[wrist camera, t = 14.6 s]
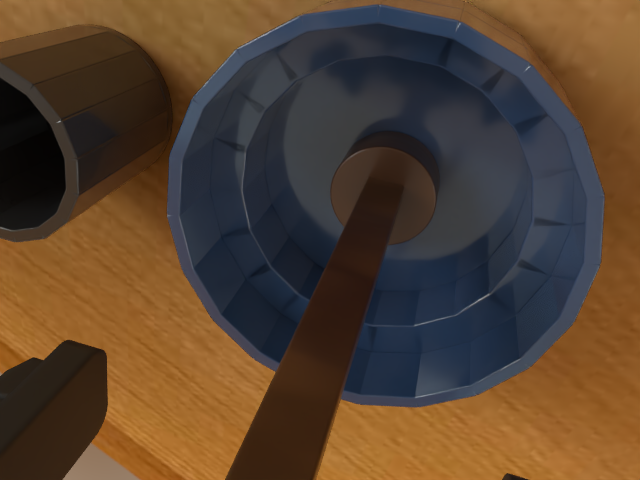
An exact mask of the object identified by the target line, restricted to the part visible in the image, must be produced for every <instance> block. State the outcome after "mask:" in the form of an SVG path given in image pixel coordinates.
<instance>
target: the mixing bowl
mask: <svg viewBox="0 0 640 480" xmlns="http://www.w3.org/2000/svg"><path fill="white" fill-rule="evenodd" d="M384 131H392V132H399V133H403V134H406V135H409V136H411V137H413V138H415V139H416V140H418V141H420V142H421V143H422V144H423V145H424V146H425V147H426V148H427V149H428V150H429V151H430V153H431V154H432V155H433V157H434V159H435V161H436V163H437V166H438V170H439V175H440V185H439V191H438V197H437V203H436V208H435V212H434V214H433V217H432V219H431V221H430V223H429V224H428V225H427V227H426V228H425V229H424V230H423V231H422V232H421V233H420V234H418V235H417V236H416V237H414V238H412V239H410V240H408V241H406V242H403V243H400V244H395V245H388V246H387V250H386V253H385V256H384V260H383V263H382V266H381V269H380V273H379V276H378V279H377V282H376V286H375V289H374V292H373V296H372V299H371V302H370V305H369V309H368V312H367V315H366V318H365V322H364V325H363V328H362V331H361V335H360V338H359V341H358V345H357V348H356V351H355V354H354V358H353V361H352V364H351V367H350V371H349V374H348V377H347V380H346V384H345V387H344V390H343V394H342V397H341V399H342V400H345V401H349V402H352V403H355V404H360V405H377V406H396V407H416V408H417V407H423V406H428V405H433V404H438V403H443V402H448V401H453V400H458V399H462V398H467V397H472V396H476V395H479V394H481V393H482V392H484V391H486V390H488V389H490V388H492V387H494V386H496V385H498V384H500V383H502V382H504V381H505V380H507V379H509V378H511V377H513V376H515V375H517V374H519V373H521V372H523V371H525V370H527V369H528V368H529V367H531V366H532V365H533V364H534V363H535V362H536V361H537V360H538V359H539V358H540V357H541V356H542V355H543V354H544V353H545V352H546V351H547V350H548V349H549V348H550V347H551V346H552V345H553V344H554V343H555V342H556V341H557V340H558V339H559V338H560V337H561V336H562V335H563V334H564V333H565V332H566V331H567V330H568V329H569V328H570V327H571V326H572V325H573V323H574V322H575V320H576V318H577V315H578V313H579V311H580V309H581V307H582V305H583V302H584V300H585V298H586V296H587V294H588V292H589V289H590V287H591V285H592V283H593V281H594V279H595V276H596V274H597V272H598V270H599V268H600V264H601V258H602V241H603V224H604V208H605V196H604V195H605V194H604V190H603V187H602V184H601V181H600V178H599V175H598V172H597V169H596V166H595V163H594V160H593V157H592V154H591V151H590V148H589V145H588V142H587V139H586V136H585V133H584V130H583V127H582V125H581V123H580V121H579V119H578V117H577V115H576V113H575V111H574V109H573V107H572V105H571V104H570V101H569V100H568V98H567V96H566V94H565V92H564V90H563V88H562V86H561V84H560V82H559V81H558V80H557V78H556V77H555V76H554V75H553V74H552V72H551V71H550V70H549V69H548V67H547V66H546V65H545V64H544V62H543V61H542V60H541V59H540V57H539V56H538V55H537V54H536V52H535V51H534V50H533V49H532V48H531V46H530V45H529V44H528V43H527V41H526V40H525V39H524V38H523V36H522V35H520V34H519V33H518V32H516V31H514V30H513V29H511V28H509V27H508V26H506V25H504V24H503V23H501V22H499V21H498V20H496V19H494V18H493V17H491V16H489V15H488V14H486V13H484V12H483V11H481V10H479V9H478V8H476V7H474V6H473V5H471V4H469V3H468V2H465V1H463V0H333V1H330V2H328V3H326V4H324V5H321V6H319V7H317V8H315V9H312V10H310V11H308V12H306V13H303V14H301V15H299V16H297V17H295V18H293V19H291V20H289V21H287V22H285V23H284V24H282V25H280V26H278V27H276V28H274V29H272V30H270V31H268V32H266V33H264V34H263V35H261V36H259V37H257V38H255V39H253V40H251V41H249V42H247V43H245V44H244V45H242V46H240V47H238V48H237V49H235V50H234V52H233V53H232V54H231V55H230V56H229V57H228V58H227V59H226V61H225V62H224V63H223V64H222V65H221V66H220V67H219V68H218V69H217V71H216V72H215V73H214V74H213V75H212V76H211V77H210V78H209V79H208V81H207V82H206V83H205V84H204V85H203V86H202V87H201V88H200V89H199V91H198V92H197V93H196V94H195V95H194V96H193V98H192V99H191V102H190V104H189V107H188V109H187V112H186V114H185V117H184V119H183V122H182V125H181V127H180V130H179V132H178V135H177V137H176V140H175V142H174V145H173V147H172V150H171V152H170V157H169V174H168V199H167V214H168V215H167V217H168V221H169V225H170V228H171V232H172V236H173V239H174V243H175V246H176V250H177V254H178V257H179V261H180V265H181V268H182V270H183V273H184V274H185V276H186V278H187V279H188V281H189V282H190V284H191V286H192V287H193V289H194V291H195V292H196V294H197V296H198V297H199V299H200V300H201V302H202V304H203V305H204V307H205V309H206V310H207V312H208V314H209V315H210V317H211V318H212V319H213V321H214V322H215V323H216V324H217V325H218V326H219V327H220V328H222V329H223V330H224V331H225V332H226V333H227V334H228V335H229V336H230V337H231V338H232V339H233V340H234V341H235V342H236V343H237V344H238V345H239V346H240V347H241V348H242V349H243V350H244V351H245V352H246V353H248V354H249V355H250V356H251V357H252V358H254V360H256V361H258V362H259V363H261V364H263V365H265V366H266V367H268V368H270V369H271V370H273V371H275V372H276V371H277V369H278V366H279V364H280V362H281V360H282V358H283V356H284V354H285V352H286V350H287V347H288V345H289V343H290V341H291V339H292V337H293V335H294V333H295V331H296V328H297V326H298V324H299V322H300V320H301V318H302V316H303V314H304V311H305V309H306V307H307V305H308V303H309V301H310V299H311V297H312V295H313V292H314V290H315V288H316V286H317V284H318V282H319V280H320V278H321V276H322V273H323V271H324V269H325V267H326V265H327V263H328V261H329V259H330V257H331V254H332V252H333V250H334V248H335V246H336V244H337V242H338V240H339V238H340V235H341V233H342V231H343V229H344V226H343V225H342V224H341V223H340V221H339V220H338V218H337V217H336V215H335V212H334V210H333V207H332V204H331V198H330V188H331V182H332V179H333V176H334V174H335V172H336V170H337V168H338V167H339V165H340V164H341V162H342V160H343V159H344V157H345V156H346V154H347V152H348V151H349V150H350V148H351V147H352V146H353V145H354V144H355V143H356V142H357V141H359V140H360V139H362V138H364V137H366V136H368V135H370V134H373V133H377V132H384Z"/></svg>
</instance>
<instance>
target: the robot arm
mask: <svg viewBox="0 0 640 480" xmlns="http://www.w3.org/2000/svg"><path fill="white" fill-rule="evenodd" d="M107 406H108V397H107V356H106V353H105V351H104V350H101V349H98V348H95V347H91V346H88V345H85V344H81V343H78V342H75V341H72V340H66V341H64V342H62V343H61V344H60V345H59V346H58V347H57V348H56V349H55V350H54V351H53V352H52V353H51V354H50V355H49V356H48V357H46V358H45V359H44V360H41V359H37V358H34V357H33V358H31V359H29V360H27V361H25V362H23V363H21V364H19V365H17V366H15V367H13V368H11V369H9V370H7V371H6V372H5V373H3V374H2V375H1V376H0V480H62V479H63V478H64V477H65V475H66V474H67V473H68V472H69V470H70V469H71V468H72V466H73V465H74V464H75V462H76V461H77V460H78V458H79V457H80V456H81V455H82V453H83V452H84V451H85V449H86V448H87V447H88V445H89V444H90V443H91V442H92V440H93V439H94V438H95V436H96V435H97V433H98V432H99V430H100V428H101V426H102V424H103V422H104V419H105V416H106V412H107ZM502 480H529V479H525V478H522V477H519V476H515V475H512V474H509V473H507V474H506V475H505V476H504V477H503V479H502Z"/></svg>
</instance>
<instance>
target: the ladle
mask: <svg viewBox="0 0 640 480" xmlns="http://www.w3.org/2000/svg"><path fill="white" fill-rule="evenodd" d="M439 185H440V175H439V170H438V166H437V163H436V161H435V159H434V157H433V155H432V154H431V153H430V151H429V150H428V149H427V148H426V147H425V146H424V145H423V144H422V143H421V142H420V141H418V140H416V139H415V138H413V137H411V136H409V135H406V134H403V133H399V132H392V131H384V132H377V133H373V134H370V135H368V136H366V137H364V138H362V139H360V140H359V141H357V142H356V143H355V144H354V145H353V146H352V147H351V148H350V150H349V151H348V152H347V154H346V156H345V157H344V159H343V160H342V162H341V164H340V165H339V167H338V168H337V170H336V172H335V174H334V176H333V179H332V182H331V188H330V198H331V204H332V207H333V210H334V212H335V215H336V217H337V218H338V220H339V221H340V223H341V224H342V225H343V226H344V229H343V231H342V233H341V235H340V238H339V240H338V242H337V244H336V246H335V248H334V250H333V252H332V254H331V257H330V259H329V261H328V263H327V265H326V267H325V269H324V271H323V273H322V276H321V278H320V280H319V282H318V284H317V286H316V288H315V290H314V292H313V295H312V297H311V299H310V301H309V303H308V305H307V307H306V309H305V311H304V314H303V316H302V318H301V320H300V322H299V324H298V326H297V328H296V331H295V333H294V335H293V337H292V339H291V341H290V343H289V345H288V347H287V350H286V352H285V354H284V356H283V358H282V360H281V362H280V364H279V366H278V369H277V371H276V373H275V375H274V377H273V379H272V381H271V383H270V385H269V388H268V390H267V392H266V394H265V396H264V398H263V400H262V402H261V404H260V407H259V409H258V411H257V413H256V415H255V417H254V419H253V421H252V423H251V426H250V428H249V430H248V432H247V434H246V436H245V438H244V440H243V443H242V445H241V447H240V449H239V451H238V453H237V455H236V457H235V459H234V462H233V464H232V466H231V468H230V470H229V472H228V474H227V476H226V478H225V480H316V478H317V475H318V472H319V469H320V465H321V462H322V459H323V456H324V452H325V449H326V446H327V443H328V439H329V436H330V433H331V429H332V426H333V423H334V420H335V416H336V413H337V410H338V407H339V403H340V400H341V397H342V394H343V390H344V387H345V384H346V380H347V377H348V374H349V371H350V367H351V364H352V361H353V358H354V354H355V351H356V348H357V345H358V341H359V338H360V335H361V331H362V328H363V325H364V322H365V318H366V315H367V312H368V309H369V305H370V302H371V299H372V296H373V292H374V289H375V286H376V282H377V279H378V276H379V273H380V269H381V266H382V263H383V260H384V256H385V253H386V250H387V246H388V245H395V244H400V243H403V242H406V241H408V240H410V239H412V238H414V237H416V236H417V235H418V234H420V233H421V232H422V231H423V230H424V229H425V228H426V227H427V225H428V224H429V223H430V221H431V219H432V217H433V214H434V212H435V208H436V203H437V197H438V191H439Z"/></svg>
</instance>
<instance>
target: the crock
mask: <svg viewBox="0 0 640 480" xmlns="http://www.w3.org/2000/svg"><path fill="white" fill-rule="evenodd" d="M171 129H172V106H171V100H170V96H169V92H168V89H167V86H166V84H165V81H164V79H163V77H162V75H161V73H160V71H159V70H158V68H157V67H156V65H155V64H154V62H153V61H152V60H151V58H150V57H149V56H148V55H147V54H146V53H145V52H144V51H143V50H142V49H141V48H140V47H139V46H138V45H137V44H136V43H134V42H133V41H132V40H131V39H129V38H128V37H126V36H124V35H123V34H121V33H119V32H117V31H114V30H112V29H110V28H106V27H103V26H98V25H75V26H70V27H66V28H62V29H57V30H53V31H48V32H44V33H39V34H35V35H30V36H26V37H21V38H17V39H12V40H8V41H4V42H0V238H2V239H5V240H9V241H12V242H23V241H31V240H40V239H45V238H47V237H49V236H50V235H52V234H53V233H55V232H56V231H57V230H59V229H60V228H62V227H63V226H65V225H66V224H68V223H69V222H70V221H72V220H73V219H75V218H76V217H78V216H79V215H80V214H82V213H83V212H85V211H86V210H88V209H89V208H90V207H92V206H93V205H95V204H96V203H98V202H99V201H101V200H102V199H103V198H105V197H106V196H108V195H109V194H111V193H112V192H113V191H115V190H116V189H118V188H119V187H121V186H122V185H123V184H125V183H126V182H128V181H129V180H131V179H132V178H134V177H135V176H136V175H138V174H139V173H141V172H142V171H143V170H145V169H146V168H147V167H149V166H150V165H152V164H153V163H154V162H155V161H156V160H157V159H158V158H159V157H160V155H161V154H162V153H163V151H164V149H165V148H166V146H167V143H168V141H169V138H170V134H171Z"/></svg>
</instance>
